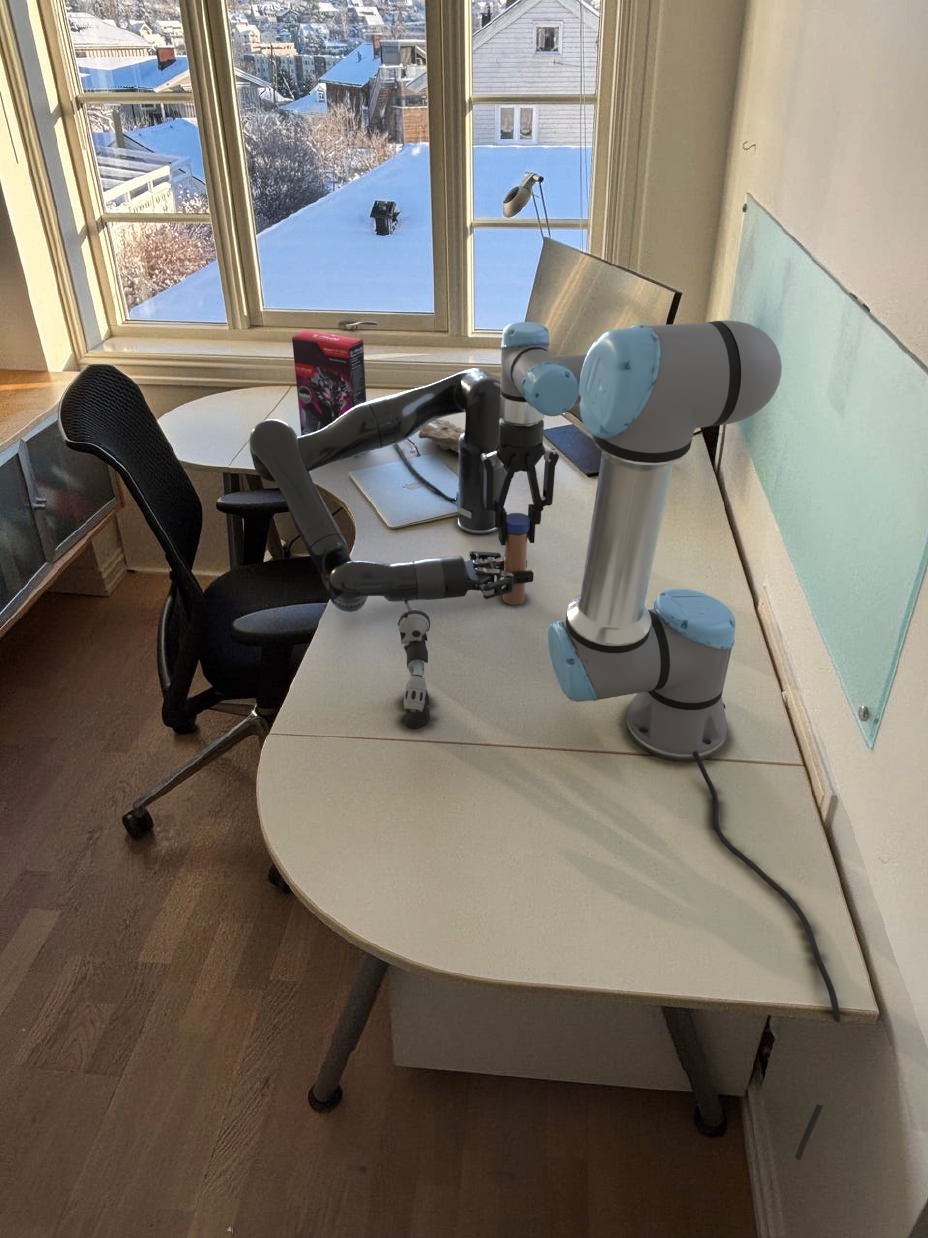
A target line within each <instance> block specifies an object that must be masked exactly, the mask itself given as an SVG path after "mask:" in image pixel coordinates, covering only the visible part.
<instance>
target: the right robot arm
mask: <svg viewBox="0 0 928 1238" xmlns="http://www.w3.org/2000/svg"><path fill="white" fill-rule="evenodd" d="M550 344H551V342H550V332H549V328H547V326H545V325H544V324H542V323H538V322H534V321H533V322H532V321H520V322H512V323H510V324H508V325H506V326H505V327H504V328H503V331H502V336H501V344H500V345H501V346H500V348H499V349H500V351H501V352H500V353H501V354H500V381H501V387H500V388H501V390H500V417H501V419H500V420H499V443H498V446H497V447H496V450H495V452H492V453H490V454H486V453H483V454H482V455H481V459H482V462H483V464H484V500H483V502H484V504H485V507H486V509H487V510H493V511H494V517H493V522H494V525H495V527H496V528H499V529H498V530H497V531H498V532H497V533H498V535H497V539H498V542H499V544H500V546H501V547H503V546H504V547H505V544H506V519H507V515H508V513H507V511H506V508H505V505H506V504H505V503H506V502H507V501H506V500H507V496H508V493H509V490H510V487H511V483H512V480H513V479H514V476H515V474H516V473H518V472H525V473H526V475H527V481H528V485H529V486H528V487H529V491H530V495H531V500H532V503H529V504H527V516H529V517H530V530H529V531H528V539H527V541H528V542H529V544H535V538H536V526H537V525H540V524H541V522H542V512H543V511H544V507H546V506H548V507H550V506H552V505H553V501H554V487H555V475H556V465H557V463H558V462H559V459H560V455H559V452H558V451H557V449H555V447H552V448H550V449H549V448H546V447H545V445H544V430H545V429H544V428H545V420H544V418H545V416H546V417H559V416H561V415H563V414H565V413H566V412H568V411H570V410H571V409H572V408H573V407H574V406H576V405H578V406H579V414H580V417H581V418H580V419H581V421H582V424H583V426H584V428H585V429H586V431H587V432H588V433H589V434H590V435H591V438H592V442H593V444H594V445H595V447H596V448H597V449H598V450H599V451H600V452H601V458H600V464H599V472H598V478H597V485H596V491H595V497H594V504H593V512H592V518H591V524H590V532H589V537H588V538H589V539H588V543H587V551H586V557H585V564H584V570H583V577H582V582H581V583H582V584H581V589H580V590H581V591H580V594H578V595H577V596H575V597H574V598H573V599H572V600H571V601H570V602H569V604H568V606H567V609H566V616H565V620H564V621H561V620H557V621H556V622H554V623H552V624H550V625H549V627H548V631H547V645H548V652H549V657H550V661H551V665H552V668H553V669H552V670H553V673H554V675H555V678H556V680H557V683H558V685H559V687H560V690H561V691H562V693H563V694H564V696H566V698H567V699H569V700H570V701H572V702H576V703H578V702H589V701H590V702H592V701H593V702H596V701H599V700H605V699H611V698H617V697H622V696H623V697H624V696H629V695H634V694H635V695H634V697H633V699H632V701H631V702H630V704H629V706H628V708H627V711H626V719H625V728H626V732H627V734H628V736H629V738H630V739H631V741H632V742H634V744H636V745H637V746H638V747H639V748H640V749H641V750H643V751H645V752H646V753H648V754H650V755H651V756H654V757H656V758H659V759H662V760H666V761H670V762H675V763H694V762H696V763H697V766H698V768H699V770H700V773H701V775H702V777H703V779H704V781H705V783H706V785H707V787H708V789H709V792H710V794H711V797H712V798H711V799H712V826H713V829H714V831H715V834H716V835H717V838H718V839H719V840H720V841H721V843H722V844H723V845H724V846H725V848H726V849H728V851H730V852H731V853H732V854H733V855H734V856H736V857H737V858H739V860H741V861H742V862H743V863H744V864H745V865H747V866H748V867H749V868H750V869H751V870H752V871H753V872H754V873H756V875H758V877H760V878H761V879H762V880H763V881H764V882H766V883H767V885H768V886H770V887H771V888H772V889H773V890H775V892H777V893H778V894H779V895H780V897H782V898H783V899H784V900H785V901H786V902H787V903H788V904H789V905H790V907H791V908H792V909H793V912H795V913H796V915H797V917H798V918H799V920H800V921H801V923H802V926H803V927H804V930H805V933H806V935H807V939H808V942H809V945H810V948H811V951H812V955H813V958H814V960H815V962H816V966H817V969H818V970H819V972H820V974H821V977H822V979H823V982H824V984H825V986H826V990H827V992H828V996H829V1000H830V1004H831V1005H830V1006H831V1011H832V1018H833V1020H834V1022H836V1023H840V1022H841V1013H840V1006H839V1001H838V997H837V993H836V989H835V987H834V984H833V981H832V979H831V977H830V975H829V972H828V971H827V968H826V966H825V963H824V962H823V959H822V956H821V954H820V951H819V948H818V943H817V940H816V938H815V934H814V932H813V929H812V926H811V925H810V923H809V921H808V918H807V916H806V914H805V913H804V911H803V910H802V908H801V907H800V906H799V905H798V904H797V902H796V901H795V900H794V899H793V897H792V896H790V894H789V893H788V892H787V891H786V890H785V889H783V888H782V886H781V885H779V884H778V883H777V882H776V881H774V880H773V879H772V878H771V877H770V876H769V875H768V874H767V873H766V872H765V871H763V870H762V869H761V868H760V867H759V866H758V865H757V864H756V863H755V862H753V861H752V860H751V859H750V858H749V857H747V856H746V855H745V854H744V853H743V852H741V851H740V850H739V849H737V848H736V847H735V846H734V845H733V844H732V843H731V842H730V841H729V840H728V839H727V838H726V836H725V835H724V833H723V831H722V830H721V828H720V823H719V812H720V805H719V804H720V803H719V798H718V797H719V796H718V793H717V790H716V788H715V787H714V784H713V782H712V779H711V778H710V776H709V773H708V771H707V769H706V767H705V765H704V763H703V760H706V759H709V758H711V757H714V755H716V754H718V752H720V751H721V750H722V748H723V747H724V744H725V743H726V740H727V739H726V738H727V733H728V721H727V716H726V712H725V710H726V709H727V708H726V704H725V703H724V701H723V692H724V686H725V682H726V678H727V672H728V668H729V664H730V659H731V654H732V651H733V650H732V649H733V647H734V645H735V642H736V641H735V637H736V636H735V635H736V618H735V616H734V614H733V612H732V611H731V609H730V608H729V607H728V606H727V605H726V604H725V603H723V602H722V601H720V600H719V599H717V598H715V596H711V595H709V594H707V593H704V592H701V591H699V590H698V591H697V590H694V589H689V588H688V589H687V588H673V589H667V590H664V591H662V592H661V593H660V594H659V595H657V597H656V599H655V600H654V602H653V608H651V609H647V607H646V606H645V603H646V598H647V593H648V588H649V583H650V578H651V573H652V568H653V564H654V560H655V555H656V550H657V546H658V540H659V535H660V531H661V526H662V521H663V516H664V511H665V507H666V503H667V498H668V493H669V488H670V483H671V479H672V478H671V477H672V474H673V468H674V464H675V463H676V462H678V461H681V460H682V459H683V458H685V457H686V456H687V455H688V454H689V452H690V450H691V447H692V441H693V437H694V433H695V430H696V429H700V428H708V427H717V426H723V425H730V424H735V423H739V422H741V421H743V420H746V419H748V418H750V417H752V416H754V415H755V414H757V413H758V412H759V411H761V410H762V409H763V408H764V407H766V406H767V404H769V402H770V401H771V400H772V399H773V397H774V395H775V394H776V392H777V390H778V387H779V385H780V381H781V378H782V370H783V369H782V368H783V366H782V357H781V355H780V352H779V349H778V347H777V345H776V343H775V342H774V340H773V339H772V338H771V337H770V336H769V335H768V334H767V333H766V332H765V331H764V330H763V329H761V328H759V327H758V326H757V327H756V326H755V325H752V324H750V323H747V322H742V321H739V320H713V321H702V322H688V323H687V322H686V323H671V324H657V325H647V324H637V325H632V326H630V327H625V328H617V329H611V330H608V331H607V332H604V333H603V334H601V336H600V337H598V338H597V339H595V341H594V342H593V344H592V345H591V346H590V348H589V350H588V351H587V353H579V354H578V353H576V354H575V353H574V354H563V355H553V354H552V353H551V352H550V351H549V347H550ZM542 457H543V460H544V467H543V468H544V470H543V482H542V483H543V485H542V495H541V492H540V486H539V482H538V477H537V470H536V465H538V463H539V461H540V460H541V459H542ZM498 458H499V460H500V461H501V462H502V463H503V468H502V475H501V478H500V482H499V485H498V489H497V492H496V496H495V499H494V501H493V482H494V471H493V467H494V466H495V464H496V459H498ZM823 1108H824V1105H821V1104H817V1103H816V1104H815V1106H814V1109H813V1111H812V1114H811V1116H810V1118H809V1121H808V1123H807V1125H806V1128H805V1130H804V1132H803V1135H802V1136H801V1140H800V1142H799V1145H798V1147H797V1150H796V1153H795V1155H794V1156H795V1159H796V1160H797V1161H801V1160H802V1159H803V1155H804V1153H805V1150H806V1147H807V1145H808V1142H809V1140H810V1138H811V1136H812V1134H813V1131H814V1129H815V1126H816V1124H817V1122H818V1120H819V1118H820V1115H821V1113H822V1111H823Z"/></svg>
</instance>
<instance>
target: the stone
mask: <svg viewBox="0 0 928 1238" xmlns="http://www.w3.org/2000/svg"><path fill="white" fill-rule="evenodd" d="M464 432H465V429H463V428H462V427H459V426H456V425H455V424H454V423H451V422H450V421H449V420H443V419H440V418H439V419H436V420H434V421H432V422H430V423H429V424H427V425H426V426H424V427H423V428H422V429H421V430H419V431H418V437H419V439H430V440H431V441H432V443H433V444H436V445H438V446H439V447H440V449H443V450H446V451H448V450H451V451H453V452H456V453H458V454H459V438H460V436H461V435H462V434H463V433H464Z"/></svg>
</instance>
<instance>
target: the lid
mask: <svg viewBox="0 0 928 1238" xmlns="http://www.w3.org/2000/svg"><path fill="white" fill-rule="evenodd" d="M529 530H530V517H529V516H528V514H525V513H522V512H512V513H507V519H506V531H507V532H508V533H511V534H523V533H526V532H528V531H529Z"/></svg>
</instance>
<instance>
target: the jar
mask: <svg viewBox="0 0 928 1238" xmlns="http://www.w3.org/2000/svg"><path fill="white" fill-rule="evenodd" d="M503 557H504V571H503V572H512V573H513V572H516V571H526V570H527V568H526V560H527V557H528V532H526V533H523V534H511V533H508V532H507V531H506V544H505V545H504V555H503ZM503 579H505V578H503ZM502 588H506V587H502ZM525 592H526V583H520V584H514V585H513V587H512V592H510V593H506V594H503V595H502V600H503V602H504V603H505V604H508V605H511V606H517V605H521V604H522V603H524V602H525V594H526V593H525Z"/></svg>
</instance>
